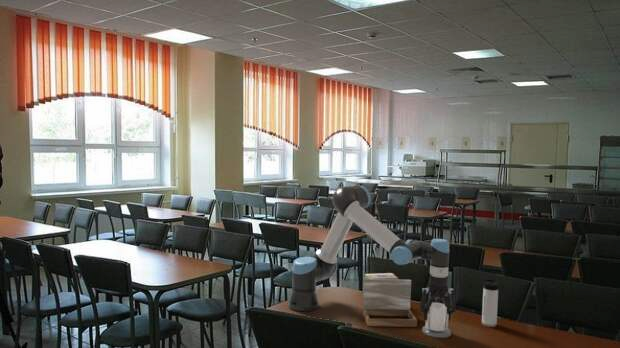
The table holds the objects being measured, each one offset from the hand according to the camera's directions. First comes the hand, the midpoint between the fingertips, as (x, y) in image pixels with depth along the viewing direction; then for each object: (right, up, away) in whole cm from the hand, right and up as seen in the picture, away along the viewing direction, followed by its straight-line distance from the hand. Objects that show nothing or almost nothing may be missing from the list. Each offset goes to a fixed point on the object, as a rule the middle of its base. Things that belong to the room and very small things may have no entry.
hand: (436, 327), depth 201 cm
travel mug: (+27, -2, +11) cm, 29 cm away
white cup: (0, 0, 0) cm, 1 cm away
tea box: (-19, 0, +34) cm, 39 cm away
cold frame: (-18, -1, +13) cm, 22 cm away
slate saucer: (0, -2, 0) cm, 2 cm away
